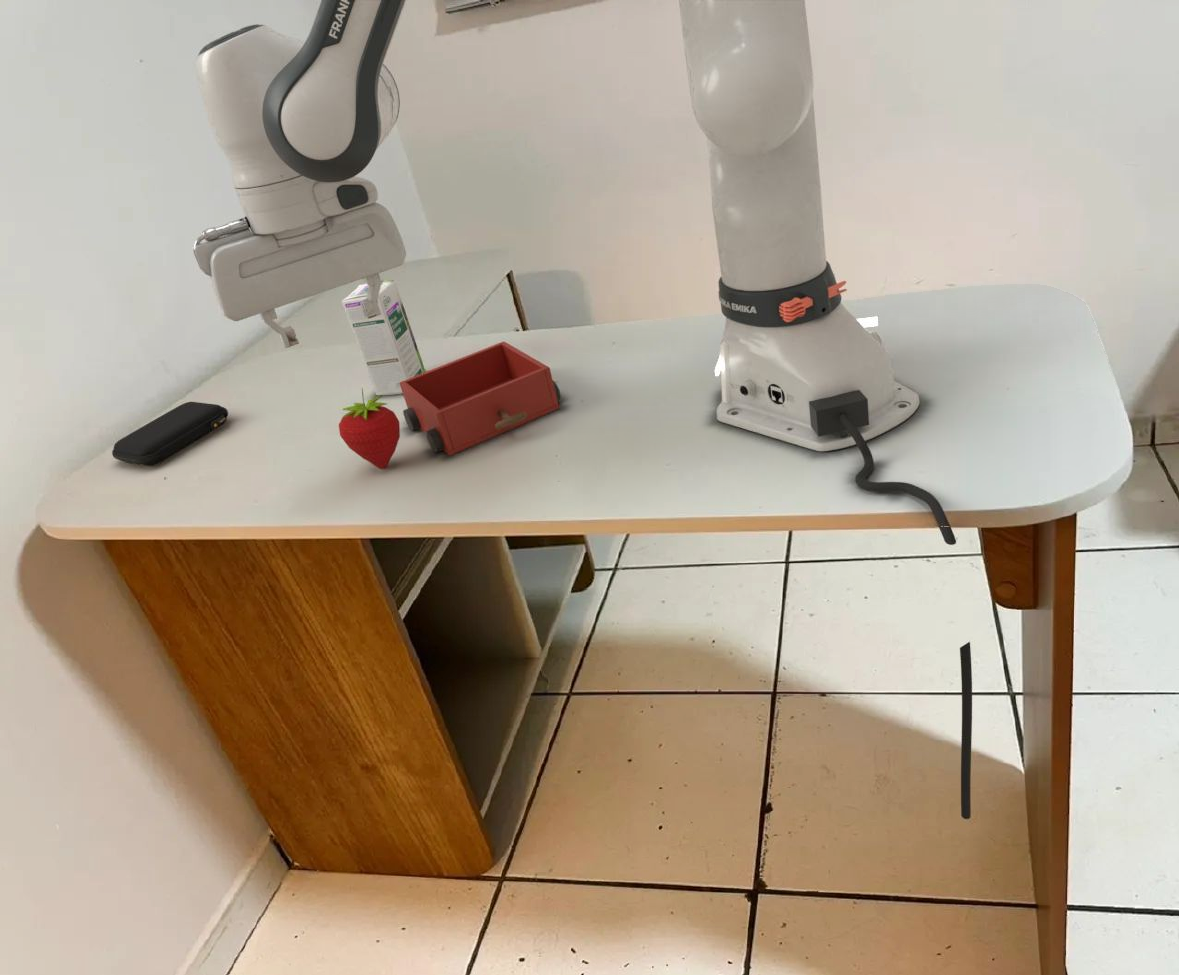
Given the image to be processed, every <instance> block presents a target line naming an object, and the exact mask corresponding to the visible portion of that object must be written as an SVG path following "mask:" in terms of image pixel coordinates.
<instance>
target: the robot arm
mask: <svg viewBox="0 0 1179 975" xmlns="http://www.w3.org/2000/svg"><path fill="white" fill-rule="evenodd" d="M407 1H408V0H321V1H320V3H319V5H318V6H319V7H318V9H317V12H316V15H315V18H314V21H313V22H312V23H313V24H312V26H311V29H310V32H309V34H308V36H307V38H306V40H301V39H297V38H293V37H290V36H287V35H285V34H282V33H279V32H277V31H276V30H274V29H272V28H271V27H269V26H267V25H265V24H259V23H257V24H250V25H247V26H243V27H242V28H239V29H238V30H235V31H232V32H230V33H227V34H225V35H222V36H220V37H218V38H216V39H214V40H212V41H210V42H209V43H208V44H205V46H203V47H202V49H201V50H199V52H198V55H197V57H196V59H195V74H196V78H197V84H198V88H199V92H200V95H201V99H202V102H203V105H204V109H205V112H206V115H207V118H208V121H209V124H210V126H211V129H212V132H213V135H214V138H215V140H216V143H217V144H218V146H219V148H220V149H221V150H222V151H223V153H224V155H225V157H226V158H227V161H228V163H229V166H230V170H231V181H232V186H233V187H234V190H235V193H236V196H237V198H238V201H239V204H240V207H241V209H242V211H243V214H244V217H243V218H238V219H236V220H232V221H230V222H228V223H225V224H222V225H220V226H217V227H216V226H214V227H210V228H207V229H205V230H203V231H202V234H201V235H200V236H199V237H198V238H197V239H196V240H195V242H194V244H193V255H194V257H195V259H196V262H197V265H198V267H199V269H200V270H201V271H202V272H203V273H204V274H205V275H207V276H209V279H210V284H211V287H212V291H213V293H214V298H215V300H216V303H217V305H218V308H219V310H220V312H221V314H222V315H223V316H224V317H226V318H227V319H229V320H231V321H233V322H239V321H242V320H246V319H248V318H251V317H255V316H257V315H259V317H260V319H261V320H262V321H263V322H264V324H266V325H267V326H268V327H270V328H271V329H272V330H274V331H275V332H276V333H277V334H278V336H279V339H280V342H281V344H282V346H283V347H284V348H285V349H288V348H291V347H294V346H297V345H299V344H300V342H299V339H298V338H297V337H296V336H297V334H296V332H295V329H294V328H293V327H292V326H291V325H287V326H285V327H282V326H281V325H280V324H279V323H278V322H276V321H275V320H276V319H278V315H277V312H276V309H277V308H281V307H284V306H287V305H289V304H292V303H295V302H298V301H301V300H304V299H307V298H310V297H313V296H316V295H319V294H322V293H326V292H327V291H330V290H334V289H336V288H339V287H342V286H345V285H348V284H351V283H354V282H356V281H360V280H362V281H363V283H364V284H368V291H367V296H366V299H365V300H362V301H360V304H361V307H362V308H363V313H364V315H365V317H366V318H368V319H370V318H373V317H376V316H378V315H380V310H379V307H378V304H377V300H378V295H379V291H380V287H381V281H382V280H381V277H380V273H383V272H386V271H389V270H392V269H395V268H398V267H401V266H403V264H404V263H405V260H406V256H407V251H406V246H405V244H404V241H403V237H402V236H401V233H400V230H399V228H398V226H397V224H396V222H395V219H394V217H393V216H392V214H391V212H390V211H389V210H388V209H387V207H385V206H384V205H382V204H380V203H378V202H377V201H378V198H379V192H378V190H377V187H376V184H374V183H373V182H372V181H371V180H369V179H367V178H364V177H359V176H358V175H359V174H360V173H362V172H363V171H364V170H365V169H366V168H367V167H368V165H369V164H370V162H371V161H372V159H373V157H374V156H375V154H376V151H377V150H378V148H379V147H380V146H381V145H382V144H383V143H384V141H385V140H386V139H387V138H388V136H389V135H390V134H391V132H392V130H393V128H394V127H395V124H396V122H397V120H398V117H399V114H400V107H401V106H400V105H401V104H400V102H401V101H400V92H399V89H398V86H397V82H396V81H395V78H394V76H393V75H392V73H391V71H390V70H389V68H387V66H386V65H385V64H384V63H385V60H386V57H387V55H388V52H389V50H390V47H391V44H392V41H393V38H394V36H395V33H396V31H397V27H398V25H399V22H400V20H401V17H402V14H403V12H404V9H405V6H406V3H407ZM678 4H679V14H680V22H681V31H682V42H683V48H684V57H685V64H686V72H687V79H688V87H689V94H690V101H691V107H692V111H693V115H694V117H695V120H696V122H697V124H698V126H699V128H700V129H701V131H702V133H703V134H704V135H705V137H706V142H707V150H708V151H707V153H708V165H709V166H708V167H709V180H710V191H711V192H710V193H711V195H710V196H711V211H712V217H713V218H712V219H713V224H714V225H713V226H714V232H715V240H716V246H717V255H718V261H719V262H718V263H719V268H720V270H719V271H720V277H719V279H718V294H717V295H718V300H719V302H720V309H721V314H722V315H723V316H724V317H725V323H724V329H723V334H722V339H721V342H720V346H719V358H718V361H717V363H716V366H715V369H714V374H715V377H718V376H719V375H720V382H721V383H720V384H721V385H720V386H721V402H720V403H719V404H718V406H717V408H716V420H717V421H718V422H721V423H723V424H727V425H730V426H734V427H737V428H740V429H743V430H747V431H750V432H754V433H756V434H760V435H763V436H766V437H770V438H772V439H777V440H779V441H783V442H785V443H789V444H792V445H796V446H798V447H802V448H805V449H808V450H812V451H816V452H829V451H836V450H840V449H841V450H842V449H844V448H848V447H852V446H855V445H856V446H857V448H858V450H859V451H860V453H861V455H862V458H863V463H864V464H863V467H862V469H861V470H860V471H859V472H858V473H857V474H856V475H855V478H854V481H855V484H856V486H858V487H860V488H861V489H862V490H865V491H869V492H879V493H881V492H902V493H906V494H909V495H911V496H913V497H915V498H917V499H920V500H921V501H923V502H924V503H925V504H926V505H928V507H929V509H930V510H931V512H932V514H933V516H934V519H935V521H936V524H937V526H938V528H939V531H940V533H941V536H942V538H943V541H944V542H945V544H947V545H949V546H954V545H956V544H957V538H956V536H955V534H954V531H953V529H952V526H951V525H950V522H949V520H948V517H947V515H946V513H945V511H944V509H943V507H942V505H941V503H940V501H939V500H938V499H937V498H936V497H935V496H934V495H933V494H932V493H931V492H929V491H927V490H926V489H924V488H921V487H920V486H918V485H914V484H912V483H908V482H903V481H870V480H867V478H868V477H869V476H870V475H871V473H873V470H874V467H875V466H874V465H875V464H874V457H873V454H872V452H871V450H870V448H869V445H868V444H867V441H869V440H870V439H873V438H876V437H877V436H880V435H881V434H884V433H886V432H888V431H890V430H891V429H893V428H895V427H897V426H898V425H900V424H902V423H904V422H905V421H906V420H907V419H909V418H910V417H911V416H912V415H913V414H914V413H915V412H916V411H917V409H918V408H919V406H920V403H921V402H920V396H919V394H918V393H916V392H915V391H914V390H912V389H911V388H909V387H907V386H906V385H905V386H904V385H903V384H901V383H900V382H898V381H896V380H895V376H894V370H893V364H892V360H891V357H890V354H889V352H888V351H887V349H886V348H885V347H884V346H883V341H882V339H881V337H880V335H879V334H878V333H877V332H875V331H870V332H869V330H867V329H866V328H869V327H877V326H878V325H879V323H878V322H879V321H878V316H871V317H865V318H864V317H863V318H856V317H855V316H854V315H853V314H852V313H851V312H850V311H849V310H848V308H847V307H846V306H845V305H844V304H843V302H842V294H843V293H845V292H847V291H848V289H847V288H843V289H841V288H842V287H843V286H845V285H846V284H847V281H846V280H843V281H840V282H838V283H837V279H836V275H835V273H834V272H833V270H832V267H831V264H830V263H829V262H828V261H827V253H826V241H825V240H826V238H825V226H824V213H823V212H824V211H823V202H822V198H823V197H822V187H821V185H822V184H821V176H820V166H819V152H818V139H817V129H816V116H815V115H816V114H815V103H814V73H813V64H812V54H811V45H810V37H809V26H808V17H807V8H806V0H678ZM203 240H205V241H204V242H202V241H203ZM941 526H943V527H941ZM944 526H949V527H944ZM971 652H972V651H971V641H968V642H967V643H965V644H963V645H962V646H960V647H959V658H960V659H959V660H960V676H961V677H960V678H961V745H960V746H961V747H960V816H961V818H962V819H964V820H969V819H970V818H971V817H972V810H971V783H972V782H971V781H972V780H971V779H972V778H971V776H972V775H971V774H972V773H971V772H972V771H971V770H972V738H973V737H972V736H973V671H972V668H973V667H972V653H971Z"/></svg>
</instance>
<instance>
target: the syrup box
mask: <svg viewBox="0 0 1179 975" xmlns="http://www.w3.org/2000/svg"><path fill="white" fill-rule="evenodd" d="M367 291H368V284H366V283H363V284H359V285H357V288H355V289H354V290H353V291H352V292H351V293H349V295H347V296H346V297H345V298H343V299H342V300H341V304H342V306H343V309H344V311H345V314H346V317H347V320H348V323H349V325H350V328H351V330H352V334H353V337H354V339H355V342H356V344H357V348H358V350H359V352H360V355H361V358H362V360H363V363H364V365H365V366H364V367H365V368H366V371H367V374H368V377H369V379H370V382H371V386H372V387H373V390H374V393H375V395H376V396H391V395H392V396H393V395H401V394H402V395H403V393H402V390H401V387H400V384H399V383H400V382H402V381H404V380H407V379H409V378H412V377H414V376H417V375H419V374H422V373H424V372H427V371H426V369H425V366H424V363H423V360H422V356H421V354H420V350H419V348H418V345H417V342H416V338H415V336H414V333H413V330H412V327H411V324H410V321H409V317H408V315H407V312H406V309H405V306H404V303H403V301H402V297H401V295H400V290H399V288H398V285H397V283H396V280H394V279H388V280H387V279H386V280H385V279H384V280H381V287H380V291H379V295H378V300H377V304H378V307H379V310H380V315H378V316H376V317H373V318H370V319H368V318H366V317H365V315H364V313H363V308H362V307H361V304H360V301H362V300H365V299H366V296H367Z"/></svg>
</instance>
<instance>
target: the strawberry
mask: <svg viewBox="0 0 1179 975" xmlns="http://www.w3.org/2000/svg"><path fill="white" fill-rule="evenodd" d="M361 396H362V402H354V403H353V405H351V406H348V407H344V408H342V411H349V412H346V414H344V415H343V416H342V418H341V420H340V421H339V423H338V431H339V436H340V438H341V439H342V440H343V442H344V443H345V445H346V446H347V447H348V448H349V449H350V450H351V451H353V452H354V453H355V454H357V455H358V456H360V458H362V459H363V460H365V461H367V462H369V463H370V464H372V465H374V466H375V467H376V468H378V469H386V468H387V467H388V466H389V464H390V461H391V459H392V457H393V455H394V453H395V452H396V449H397V447H398V446H397V445H398V443H399V440H400V438H401V432H400V431H401V430H400V420H399V419H398V417H397V415H396V413H395V412H394V411H392V410H391V409H389V408H388V407H386V406H385V405H388V403H386V402H378V400H380V399H381V398H382V396H383V395H379V396H377V397H374V398H372V399H368V400H367V403H365V398H364V388H361Z"/></svg>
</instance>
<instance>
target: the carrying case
mask: <svg viewBox="0 0 1179 975" xmlns="http://www.w3.org/2000/svg"><path fill="white" fill-rule="evenodd" d="M228 416H229V411H228V409H227V408H226V407H224V406H221V405H219V404H216V403H208V402H199V401H188V402H184V403H182V404H180V405H178V406H176V407H175V408H173V409H171V410H169V411H167V412H165V413H164V414H162V415H160V416H159V417H156V418H154V419H153V420H151V421H149V422H148V423H146V424H145V425H143V426H141V427H139V428H138V429H135V430H133V431H132V432H131V433H129V434H128V435H125V436H124V437H122V438H119V440H117V441H116V442H115V443H114V445H113V449H112V450H111V451H112V452H111V456H112V457H113V458H114V459H115V460H118V461H122V462H124V463H128V464H129V463H130V464H136V465H141V466H146V467H147V466H148V467H154V466H157V465H159V464H161V463H162V462H165V461H166V460H168V459H170V458H171V457H173V456H174V455H177V454H179V453H180V452H181V451H183V450H185V449H186V448H187V447H189V446H191V445H192V444H194V443H196V442H198V441H200V440H201V439H202V438H204V437H206V436H208V435H209V434H210V433H213V432H214V431H215V430H217V429H218V428H220V427H221V426H223V425H224V424H225V423H226V422H227V420H228Z"/></svg>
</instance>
